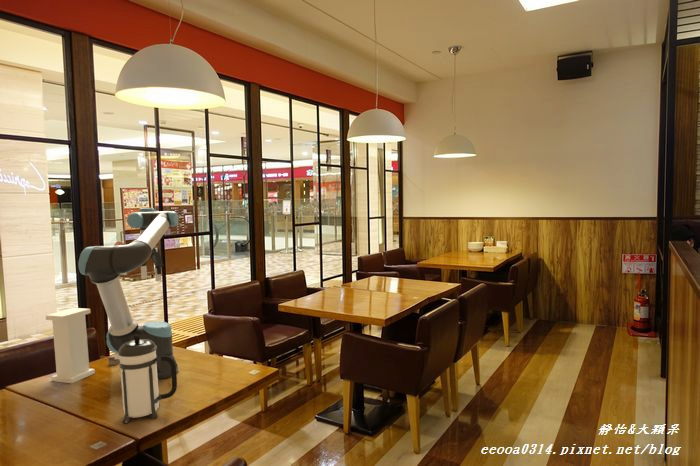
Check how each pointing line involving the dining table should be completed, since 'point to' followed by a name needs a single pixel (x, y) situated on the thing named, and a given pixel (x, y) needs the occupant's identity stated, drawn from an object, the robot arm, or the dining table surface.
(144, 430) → the dining table surface
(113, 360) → the walnut bar
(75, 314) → the white pedestal
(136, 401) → the coffee press
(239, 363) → the dining table surface
